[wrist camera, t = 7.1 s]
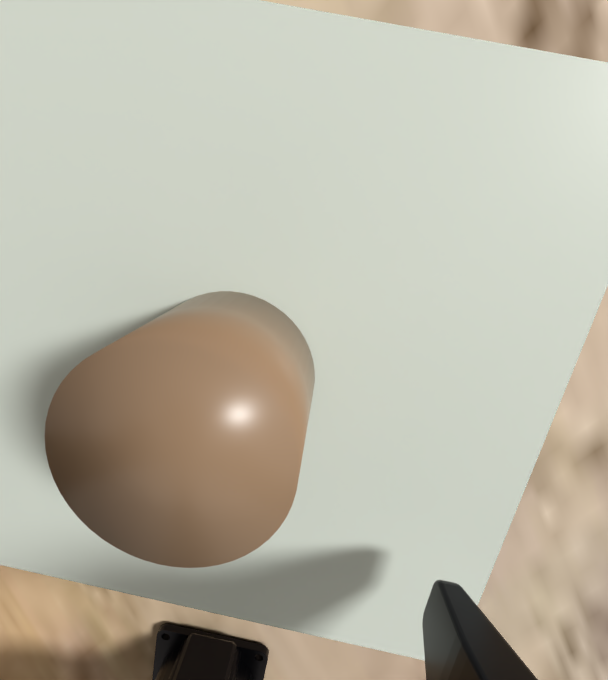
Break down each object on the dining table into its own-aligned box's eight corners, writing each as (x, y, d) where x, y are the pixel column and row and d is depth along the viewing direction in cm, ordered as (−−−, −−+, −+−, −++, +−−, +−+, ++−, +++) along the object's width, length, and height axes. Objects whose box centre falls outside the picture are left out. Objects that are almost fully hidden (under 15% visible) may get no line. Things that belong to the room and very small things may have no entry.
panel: (446, 641, 10) (498, 857, 7) (-27, 535, 11) (-204, 689, 7) (662, 89, 7) (999, -41, 3) (-66, -42, 7) (-454, -284, 4)
